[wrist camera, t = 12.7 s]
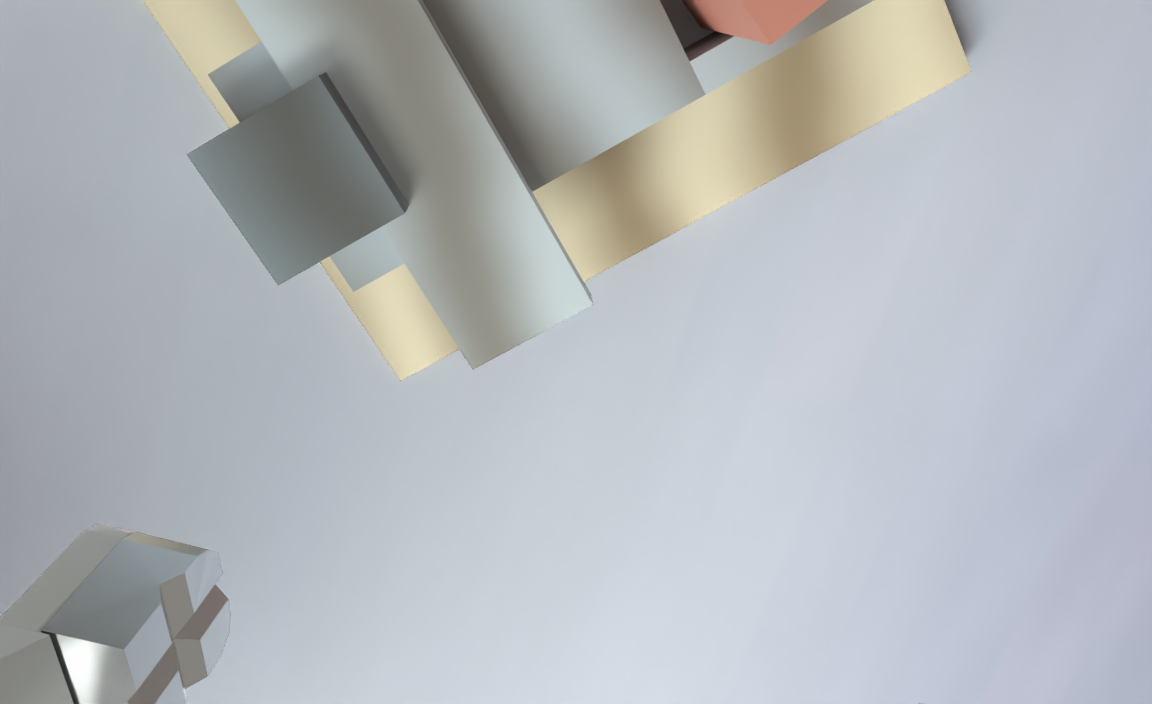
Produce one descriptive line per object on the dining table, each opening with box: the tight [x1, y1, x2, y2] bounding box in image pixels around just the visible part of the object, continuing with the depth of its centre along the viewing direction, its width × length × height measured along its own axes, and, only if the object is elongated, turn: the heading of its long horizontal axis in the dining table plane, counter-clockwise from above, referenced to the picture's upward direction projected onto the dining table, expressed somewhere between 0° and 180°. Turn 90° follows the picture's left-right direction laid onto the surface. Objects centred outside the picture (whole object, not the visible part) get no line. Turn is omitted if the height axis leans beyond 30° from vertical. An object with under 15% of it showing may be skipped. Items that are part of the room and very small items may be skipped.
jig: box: [142, 0, 972, 381], centre depth 28 cm, size 22×16×8 cm
